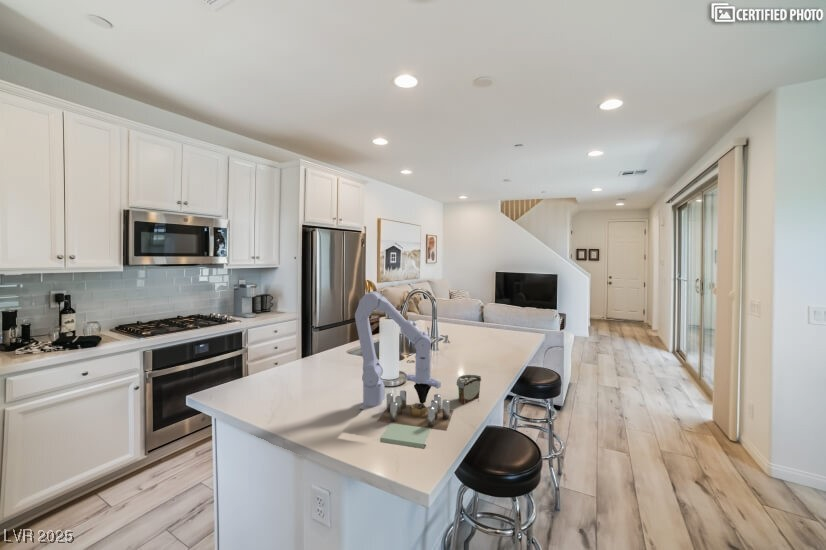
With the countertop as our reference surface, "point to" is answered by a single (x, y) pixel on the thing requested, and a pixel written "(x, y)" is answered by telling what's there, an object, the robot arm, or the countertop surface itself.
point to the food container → (468, 388)
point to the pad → (405, 435)
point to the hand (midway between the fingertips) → (422, 402)
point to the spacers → (433, 410)
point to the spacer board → (417, 419)
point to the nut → (417, 409)
